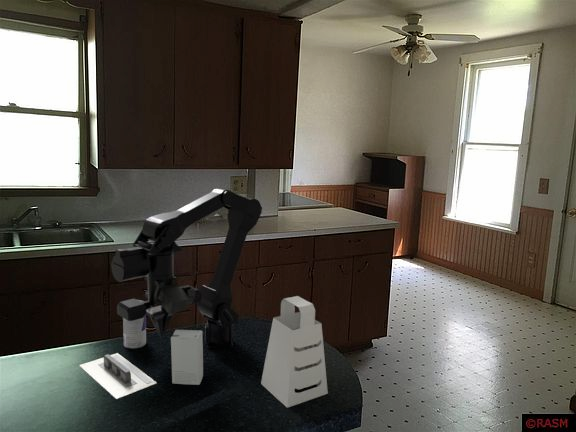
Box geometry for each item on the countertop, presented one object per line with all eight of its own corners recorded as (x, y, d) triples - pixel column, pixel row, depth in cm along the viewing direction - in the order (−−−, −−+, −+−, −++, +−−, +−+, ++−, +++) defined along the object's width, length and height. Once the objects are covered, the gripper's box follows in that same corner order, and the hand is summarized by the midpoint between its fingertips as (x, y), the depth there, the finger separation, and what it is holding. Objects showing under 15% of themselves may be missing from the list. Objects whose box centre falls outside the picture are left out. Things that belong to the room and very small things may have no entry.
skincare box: (203, 380, 103) (204, 329, 101) (199, 391, 98) (200, 338, 96) (175, 379, 103) (175, 328, 101) (170, 390, 98) (170, 336, 96)
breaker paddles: (109, 363, 105) (108, 353, 105) (130, 381, 98) (130, 370, 98) (103, 365, 104) (103, 355, 104) (125, 383, 97) (125, 372, 97)
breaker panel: (117, 358, 111) (117, 352, 110) (157, 389, 99) (157, 382, 98) (79, 371, 104) (79, 364, 104) (116, 405, 92) (116, 398, 92)
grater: (299, 371, 108) (303, 290, 105) (327, 393, 100) (333, 305, 96) (260, 383, 102) (263, 297, 99) (287, 407, 94) (291, 314, 90)
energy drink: (148, 344, 119) (148, 299, 117) (142, 354, 114) (142, 307, 111) (127, 343, 119) (126, 299, 117) (120, 353, 113) (119, 307, 111)
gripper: (140, 290, 93) (142, 362, 96) (215, 272, 106) (214, 336, 109) (114, 277, 101) (117, 344, 104) (187, 262, 114) (188, 321, 117)
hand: (161, 336), depth 108 cm, fingers closed
